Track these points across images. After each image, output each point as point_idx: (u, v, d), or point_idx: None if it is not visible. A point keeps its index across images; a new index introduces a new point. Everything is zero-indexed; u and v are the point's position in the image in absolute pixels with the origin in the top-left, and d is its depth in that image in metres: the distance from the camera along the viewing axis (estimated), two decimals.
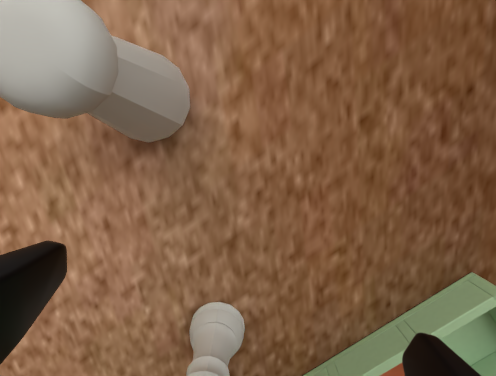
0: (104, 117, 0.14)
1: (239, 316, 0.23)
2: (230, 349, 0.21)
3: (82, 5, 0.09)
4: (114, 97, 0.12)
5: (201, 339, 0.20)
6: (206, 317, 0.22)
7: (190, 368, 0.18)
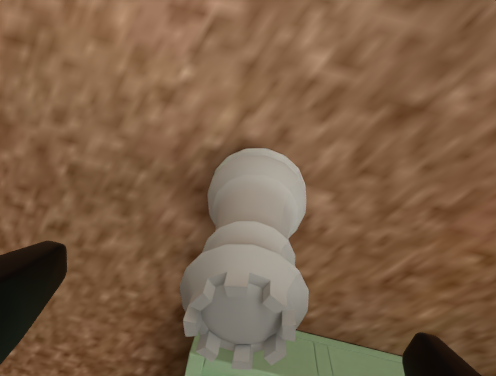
0: None
1: None
2: None
3: None
4: None
5: (263, 196, 0.10)
6: (278, 170, 0.11)
7: (239, 229, 0.08)
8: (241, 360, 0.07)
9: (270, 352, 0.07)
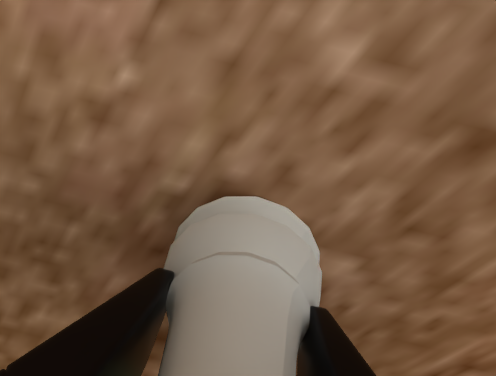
0: None
1: None
2: None
3: None
4: None
5: (248, 310, 0.05)
6: (277, 242, 0.07)
7: None
8: None
9: None
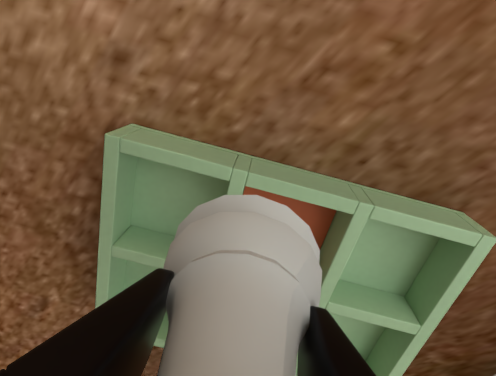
0: None
1: None
2: None
3: None
4: None
5: (248, 308, 0.05)
6: (277, 241, 0.07)
7: None
8: None
9: None
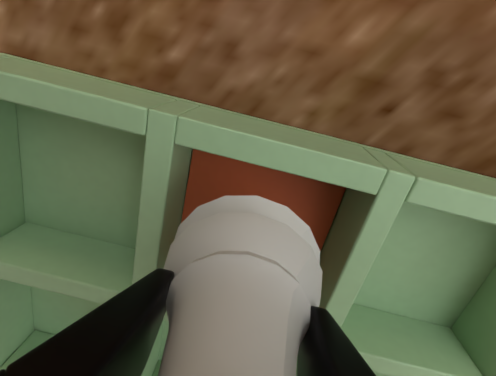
0: None
1: None
2: None
3: None
4: None
5: (249, 308, 0.05)
6: (277, 241, 0.07)
7: None
8: None
9: None
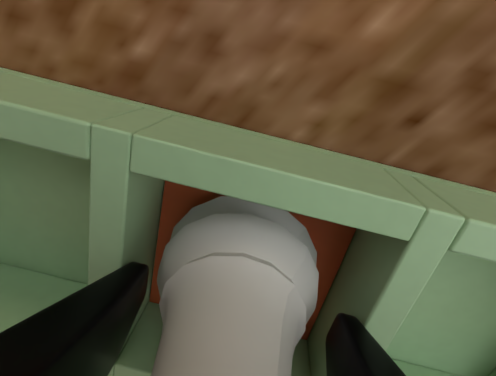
0: None
1: None
2: None
3: None
4: None
5: (242, 312, 0.05)
6: (273, 243, 0.07)
7: None
8: None
9: None
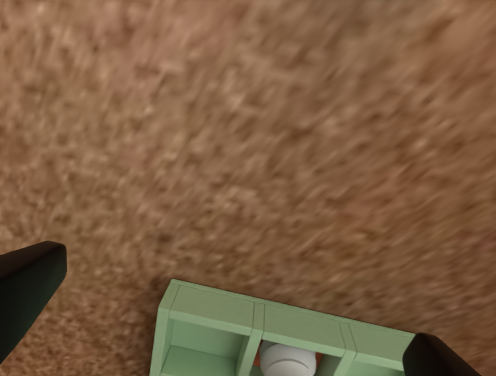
0: None
1: None
2: None
3: None
4: None
5: None
6: (301, 354, 0.21)
7: None
8: None
9: None
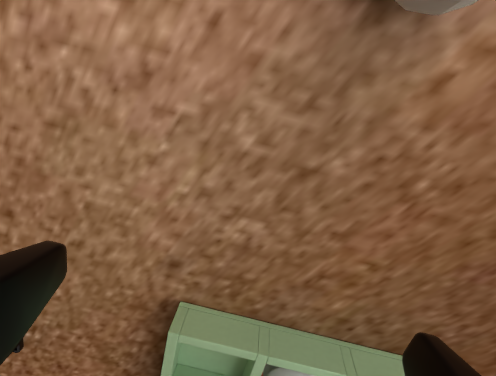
0: None
1: None
2: None
3: None
4: None
5: None
6: None
7: None
8: None
9: None
